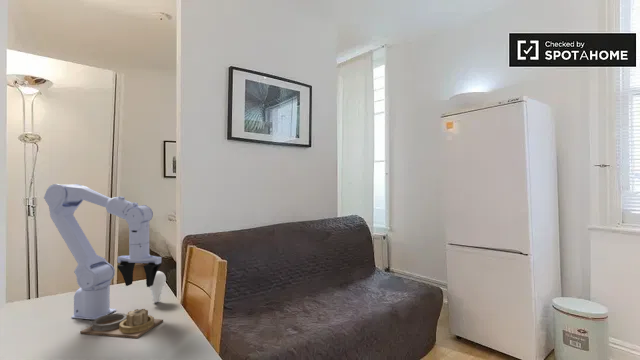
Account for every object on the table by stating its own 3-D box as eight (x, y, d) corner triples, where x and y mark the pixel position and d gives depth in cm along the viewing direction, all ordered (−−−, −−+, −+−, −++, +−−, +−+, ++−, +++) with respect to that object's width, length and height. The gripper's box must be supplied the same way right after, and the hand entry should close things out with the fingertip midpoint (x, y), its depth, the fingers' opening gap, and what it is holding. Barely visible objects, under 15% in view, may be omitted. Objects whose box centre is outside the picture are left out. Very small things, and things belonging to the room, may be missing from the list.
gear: (122, 329, 93) (122, 315, 93) (135, 321, 98) (135, 308, 98) (138, 330, 92) (138, 316, 92) (151, 322, 97) (151, 309, 98)
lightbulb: (158, 306, 113) (158, 274, 113) (142, 304, 114) (142, 273, 114) (169, 299, 119) (169, 269, 119) (154, 298, 120) (154, 268, 120)
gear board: (80, 333, 92) (80, 326, 92) (111, 317, 103) (111, 311, 103) (137, 338, 89) (137, 330, 89) (163, 321, 100) (163, 314, 100)
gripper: (167, 241, 108) (167, 282, 108) (128, 240, 111) (128, 280, 110) (153, 245, 101) (153, 289, 101) (112, 244, 104) (112, 287, 103)
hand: (139, 285), depth 105 cm, fingers open, 7 cm apart
